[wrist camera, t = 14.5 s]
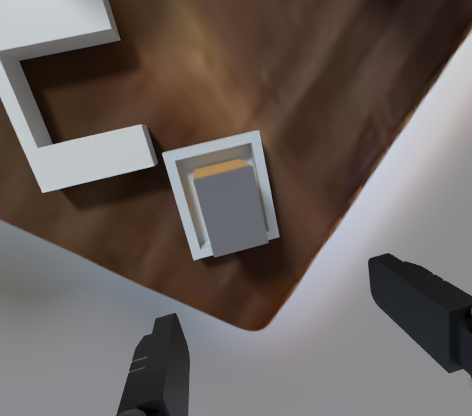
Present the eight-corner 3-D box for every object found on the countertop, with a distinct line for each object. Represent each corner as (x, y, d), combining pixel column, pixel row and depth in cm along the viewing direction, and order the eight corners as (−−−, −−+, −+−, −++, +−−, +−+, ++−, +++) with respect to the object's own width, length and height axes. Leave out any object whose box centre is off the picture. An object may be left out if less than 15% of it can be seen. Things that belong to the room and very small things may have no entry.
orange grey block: (238, 158, 30) (252, 166, 22) (251, 217, 32) (268, 242, 24) (193, 169, 30) (193, 181, 22) (209, 227, 32) (214, 257, 24)
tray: (254, 130, 30) (259, 130, 28) (273, 229, 33) (279, 237, 31) (164, 151, 29) (161, 153, 27) (193, 251, 33) (193, 260, 30)
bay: (106, -8, 25) (94, -27, 22) (158, 163, 30) (154, 166, 27) (-15, 14, 24) (-44, -2, 21) (57, 187, 29) (42, 192, 26)
